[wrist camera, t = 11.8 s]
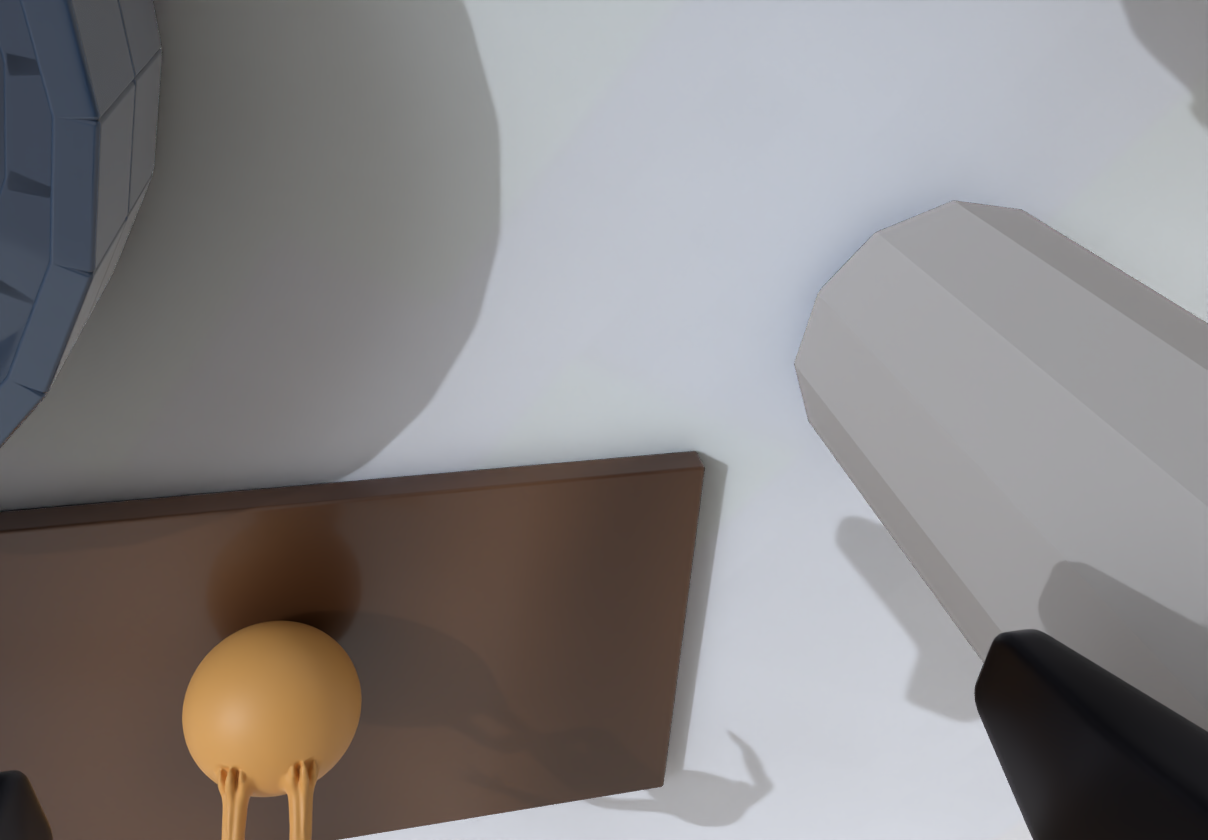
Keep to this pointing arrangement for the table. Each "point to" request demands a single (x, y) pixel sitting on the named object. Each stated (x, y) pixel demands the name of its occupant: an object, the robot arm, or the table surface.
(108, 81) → the basin
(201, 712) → the figurine
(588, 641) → the walnut board
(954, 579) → the water bottle
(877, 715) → the table surface
